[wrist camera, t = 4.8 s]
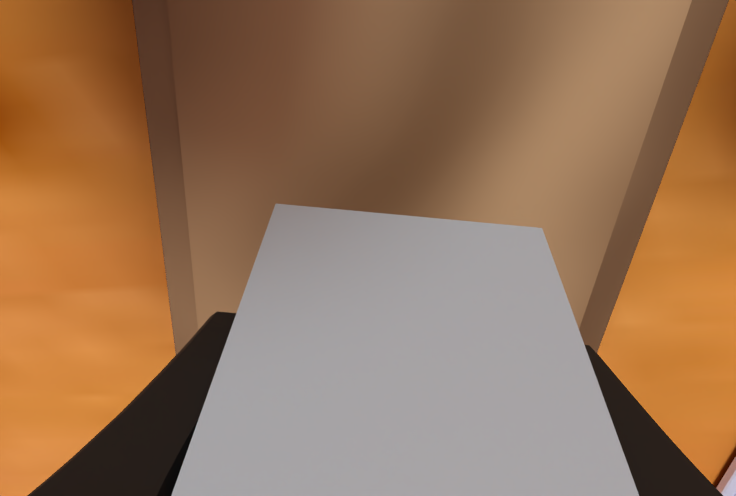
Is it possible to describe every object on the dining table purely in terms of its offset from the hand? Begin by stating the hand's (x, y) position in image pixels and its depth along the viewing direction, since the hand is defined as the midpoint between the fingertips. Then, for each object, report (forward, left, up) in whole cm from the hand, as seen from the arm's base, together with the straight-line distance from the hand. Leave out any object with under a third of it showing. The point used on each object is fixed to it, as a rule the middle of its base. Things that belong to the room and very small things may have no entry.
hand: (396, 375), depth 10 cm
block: (0, 0, -2) cm, 2 cm away
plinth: (0, 0, -8) cm, 8 cm away
